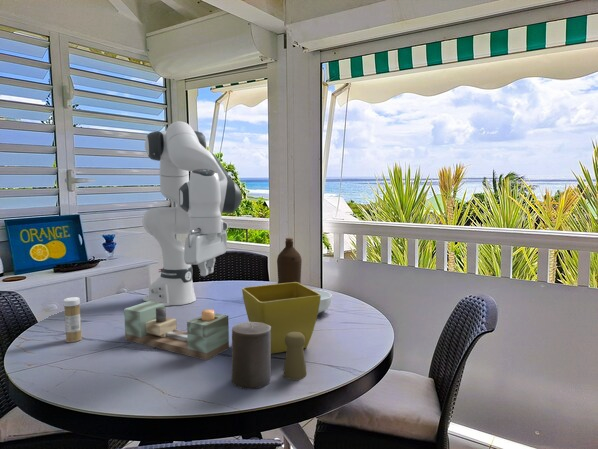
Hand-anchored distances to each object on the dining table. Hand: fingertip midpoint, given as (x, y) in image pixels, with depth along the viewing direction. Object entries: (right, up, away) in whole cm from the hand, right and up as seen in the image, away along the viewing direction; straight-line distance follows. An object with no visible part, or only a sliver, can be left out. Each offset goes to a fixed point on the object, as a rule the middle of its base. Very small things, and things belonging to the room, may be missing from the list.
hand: (207, 274), depth 126 cm
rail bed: (-11, -22, +9) cm, 27 cm away
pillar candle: (+15, -25, -16) cm, 33 cm away
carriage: (-17, -20, +11) cm, 28 cm away
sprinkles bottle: (-44, -22, +12) cm, 51 cm away
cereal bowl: (+30, -19, +40) cm, 54 cm away
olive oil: (+22, -17, +65) cm, 71 cm away
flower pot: (+21, -23, +8) cm, 32 cm away
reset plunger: (0, -15, +2) cm, 15 cm away
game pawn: (+25, -25, -12) cm, 38 cm away
